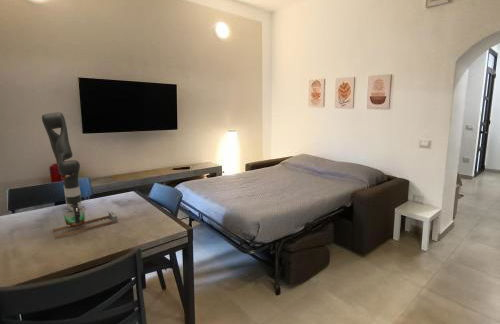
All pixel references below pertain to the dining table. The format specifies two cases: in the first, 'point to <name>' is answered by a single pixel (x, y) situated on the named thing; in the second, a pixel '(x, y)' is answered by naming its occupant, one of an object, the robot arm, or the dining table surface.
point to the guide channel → (111, 216)
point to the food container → (71, 219)
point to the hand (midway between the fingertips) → (76, 221)
